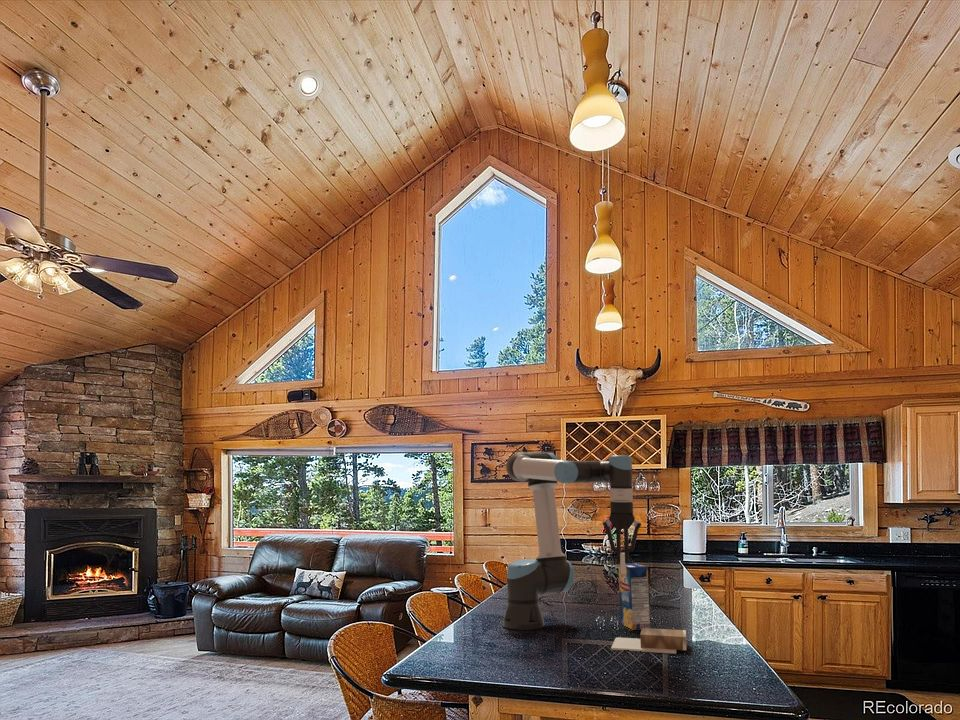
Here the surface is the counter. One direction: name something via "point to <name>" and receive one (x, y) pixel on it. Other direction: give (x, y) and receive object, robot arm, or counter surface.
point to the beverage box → (634, 596)
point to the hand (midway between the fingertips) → (623, 573)
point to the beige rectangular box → (663, 639)
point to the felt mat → (635, 646)
